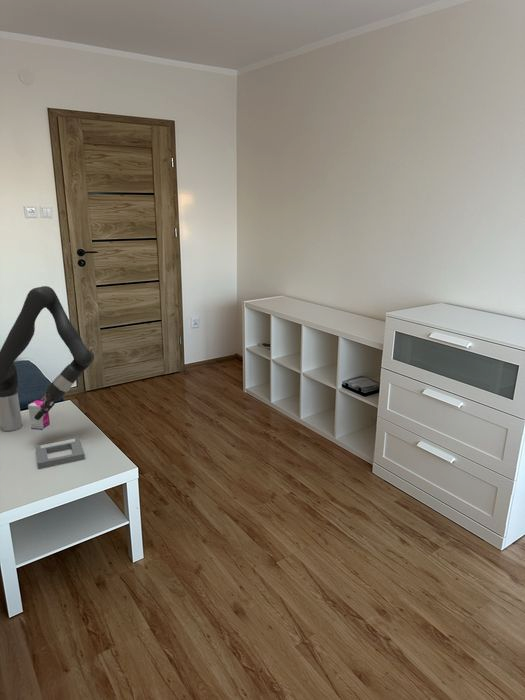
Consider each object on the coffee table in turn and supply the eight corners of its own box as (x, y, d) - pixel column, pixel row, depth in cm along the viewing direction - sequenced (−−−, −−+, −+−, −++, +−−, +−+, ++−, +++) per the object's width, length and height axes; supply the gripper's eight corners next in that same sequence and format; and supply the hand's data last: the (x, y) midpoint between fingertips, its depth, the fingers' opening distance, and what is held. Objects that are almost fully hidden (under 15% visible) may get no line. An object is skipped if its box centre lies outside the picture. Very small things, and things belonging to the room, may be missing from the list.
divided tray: (36, 451, 215) (35, 445, 214) (79, 442, 222) (79, 437, 222) (38, 469, 201) (37, 462, 200) (85, 459, 209) (84, 453, 208)
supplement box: (42, 430, 216) (39, 406, 213) (30, 429, 218) (26, 405, 214) (50, 424, 222) (47, 400, 218) (39, 423, 223) (35, 399, 220)
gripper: (51, 376, 223) (27, 405, 222) (54, 386, 211) (28, 417, 209) (65, 385, 227) (41, 413, 225) (69, 396, 215) (44, 426, 213)
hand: (35, 415), depth 217 cm, fingers closed on supplement box, 8 cm apart
